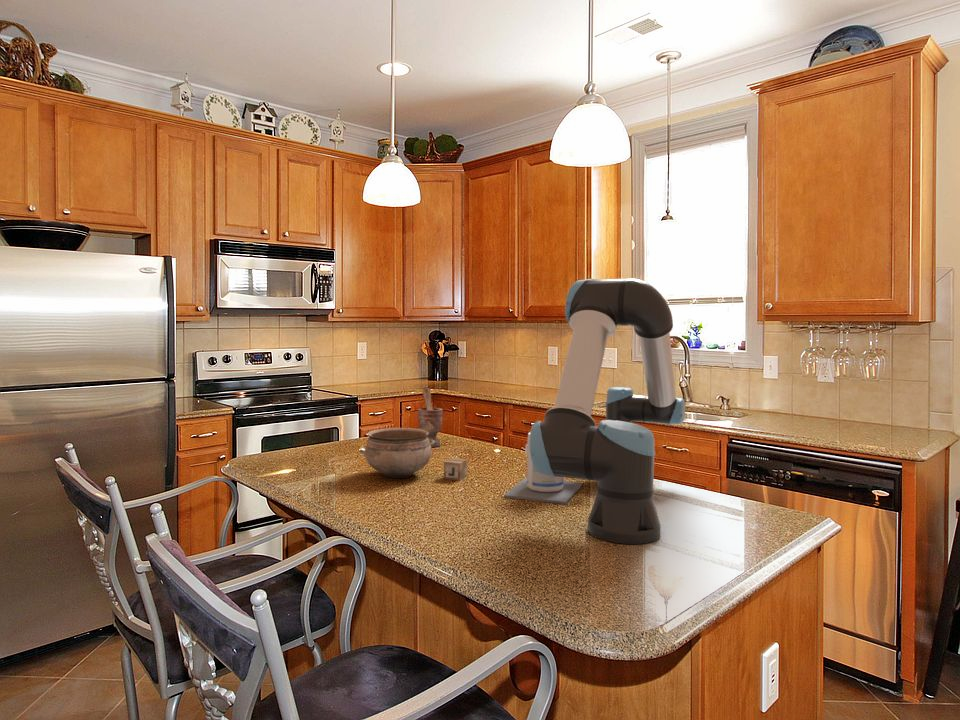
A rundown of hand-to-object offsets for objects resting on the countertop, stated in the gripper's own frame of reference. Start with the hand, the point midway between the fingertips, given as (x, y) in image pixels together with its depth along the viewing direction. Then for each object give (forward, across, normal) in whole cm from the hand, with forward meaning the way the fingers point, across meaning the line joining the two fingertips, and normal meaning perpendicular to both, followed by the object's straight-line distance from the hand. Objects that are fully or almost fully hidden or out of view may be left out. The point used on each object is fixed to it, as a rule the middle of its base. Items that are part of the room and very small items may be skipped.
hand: (544, 454), depth 170 cm
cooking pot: (+21, +37, -10) cm, 44 cm away
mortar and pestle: (-12, +68, -10) cm, 70 cm away
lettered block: (+10, +25, -10) cm, 29 cm away
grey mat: (0, 0, -10) cm, 10 cm away
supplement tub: (0, 0, -9) cm, 9 cm away
